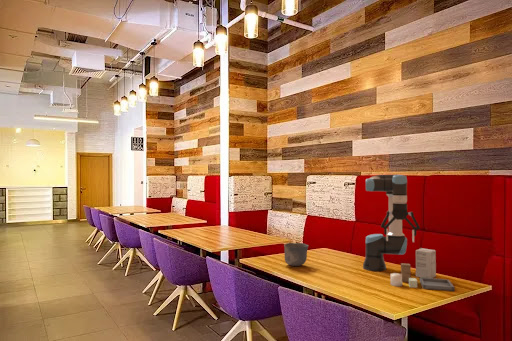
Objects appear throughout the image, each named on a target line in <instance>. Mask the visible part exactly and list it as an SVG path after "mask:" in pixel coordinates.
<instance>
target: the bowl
mask: <svg viewBox="0 0 512 341" xmlns="http://www.w3.org/2000/svg"><path fill="white" fill-rule="evenodd" d="M283 247H284V262H285V263H286V264H287V265H289V266H293V267H299V266H302V265H303V266H304V264H305V263H306V261H307V259H308V258H307V257H308V254H307V253H308V248H309V244H306V243H302V242H296V243H295V242H287V243H285V244H283Z"/></svg>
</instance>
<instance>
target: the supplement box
mask: <svg viewBox="0 0 512 341" xmlns="http://www.w3.org/2000/svg"><path fill="white" fill-rule="evenodd" d="M436 252H437V251H436V250H435V249H428V248H422V247H420V248H419V249H416V250H415V277H416V278H420V277H421V278H435V277H436V276H437V262H436V259H437V255H436Z"/></svg>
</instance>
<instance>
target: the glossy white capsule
mask: <svg viewBox="0 0 512 341" xmlns="http://www.w3.org/2000/svg"><path fill="white" fill-rule="evenodd" d="M390 285H391V286H392V287H403V282H402V274H401V273H397V272H393V273H390Z"/></svg>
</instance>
